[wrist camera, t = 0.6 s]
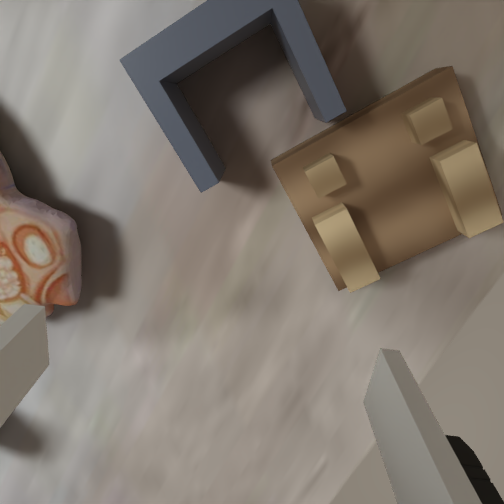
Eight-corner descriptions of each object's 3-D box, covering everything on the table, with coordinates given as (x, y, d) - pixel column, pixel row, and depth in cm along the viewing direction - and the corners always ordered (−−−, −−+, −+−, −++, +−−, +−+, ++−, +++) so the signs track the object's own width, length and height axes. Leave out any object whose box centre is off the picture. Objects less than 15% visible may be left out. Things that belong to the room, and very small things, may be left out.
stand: (271, 160, 34) (272, 170, 30) (435, 68, 31) (465, 64, 27) (333, 276, 39) (342, 301, 34) (483, 205, 36) (516, 222, 31)
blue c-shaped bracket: (144, 65, 32) (119, 59, 26) (273, -21, 29) (276, -47, 24) (210, 177, 35) (200, 192, 30) (332, 108, 33) (346, 111, 27)
